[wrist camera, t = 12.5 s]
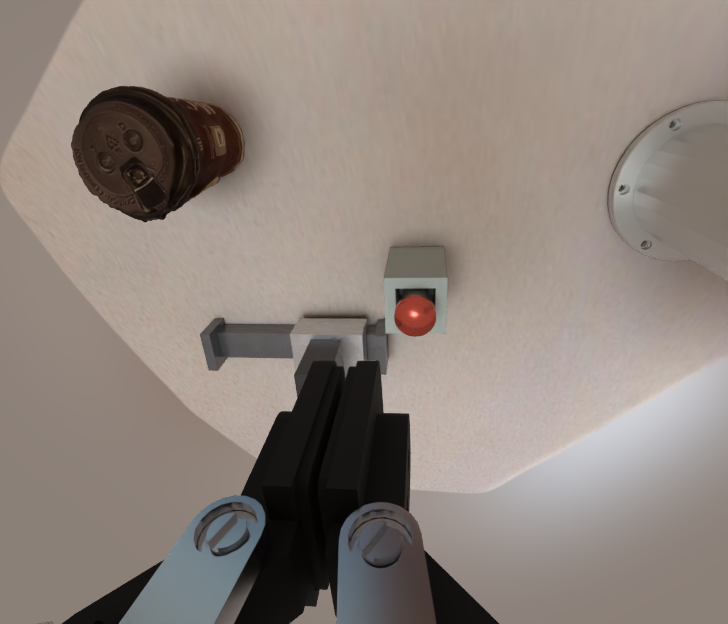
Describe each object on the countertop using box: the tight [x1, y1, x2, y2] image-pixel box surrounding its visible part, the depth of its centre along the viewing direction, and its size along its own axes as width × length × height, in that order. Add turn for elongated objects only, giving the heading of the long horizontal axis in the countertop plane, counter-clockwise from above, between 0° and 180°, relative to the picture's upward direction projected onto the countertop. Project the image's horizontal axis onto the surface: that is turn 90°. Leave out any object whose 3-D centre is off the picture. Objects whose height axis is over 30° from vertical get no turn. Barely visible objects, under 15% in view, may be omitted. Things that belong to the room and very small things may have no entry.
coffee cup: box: [71, 86, 244, 222], centre depth 33 cm, size 9×8×13 cm
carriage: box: [290, 318, 369, 397], centre depth 41 cm, size 7×6×10 cm
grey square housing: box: [384, 247, 448, 334], centre depth 38 cm, size 5×5×8 cm
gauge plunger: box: [394, 288, 436, 336], centre depth 36 cm, size 3×3×7 cm
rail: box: [200, 318, 389, 375], centre depth 45 cm, size 19×4×4 cm, turn 93°
